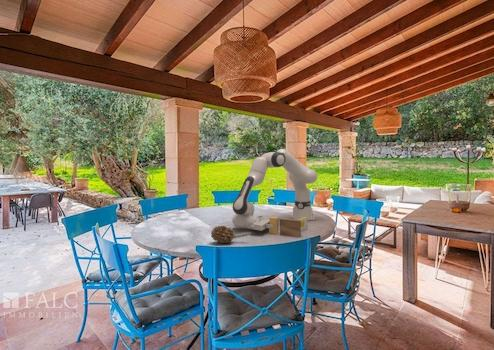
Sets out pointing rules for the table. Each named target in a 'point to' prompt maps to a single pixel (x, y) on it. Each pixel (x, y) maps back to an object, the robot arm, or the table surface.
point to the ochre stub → (274, 221)
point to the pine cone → (224, 234)
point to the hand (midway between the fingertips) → (275, 225)
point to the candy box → (304, 224)
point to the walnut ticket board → (290, 227)
